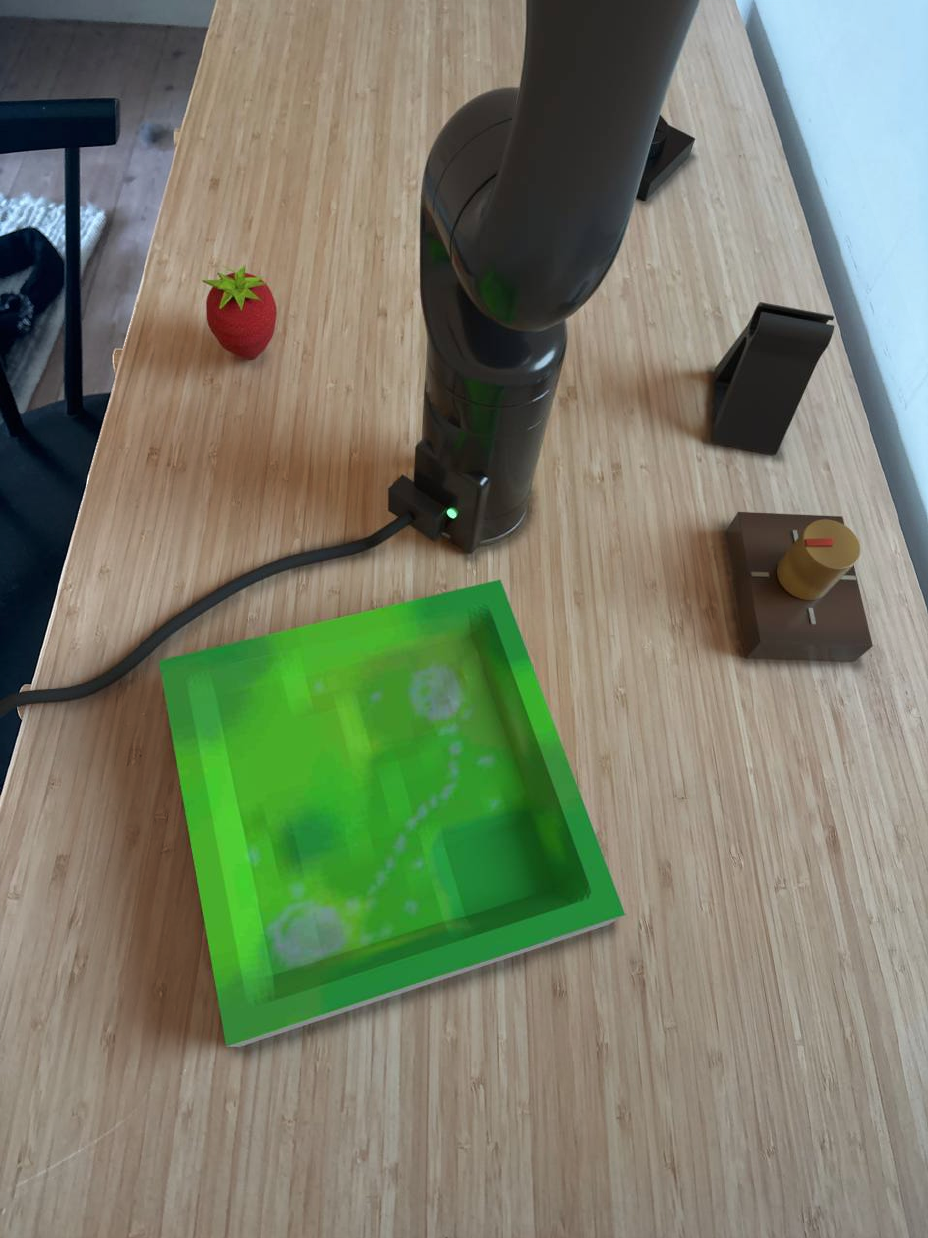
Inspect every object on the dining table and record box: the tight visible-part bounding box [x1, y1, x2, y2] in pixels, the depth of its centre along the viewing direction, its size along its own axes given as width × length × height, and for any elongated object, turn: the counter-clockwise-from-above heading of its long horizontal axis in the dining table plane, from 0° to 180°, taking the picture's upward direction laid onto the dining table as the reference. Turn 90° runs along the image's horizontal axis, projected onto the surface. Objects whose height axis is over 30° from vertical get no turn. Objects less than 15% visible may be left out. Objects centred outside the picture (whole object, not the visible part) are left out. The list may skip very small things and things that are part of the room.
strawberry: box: [202, 263, 278, 361], centre depth 74 cm, size 6×8×10 cm
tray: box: [158, 579, 626, 1048], centre depth 59 cm, size 25×25×5 cm
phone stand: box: [710, 301, 835, 456], centre depth 75 cm, size 9×6×12 cm, turn 170°
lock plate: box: [725, 511, 874, 663], centre depth 71 cm, size 12×9×3 cm
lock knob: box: [777, 519, 861, 600], centre depth 67 cm, size 4×4×5 cm
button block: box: [636, 114, 696, 202], centre depth 94 cm, size 10×10×4 cm
